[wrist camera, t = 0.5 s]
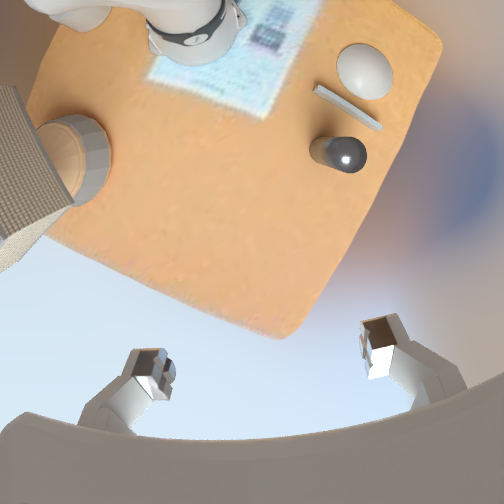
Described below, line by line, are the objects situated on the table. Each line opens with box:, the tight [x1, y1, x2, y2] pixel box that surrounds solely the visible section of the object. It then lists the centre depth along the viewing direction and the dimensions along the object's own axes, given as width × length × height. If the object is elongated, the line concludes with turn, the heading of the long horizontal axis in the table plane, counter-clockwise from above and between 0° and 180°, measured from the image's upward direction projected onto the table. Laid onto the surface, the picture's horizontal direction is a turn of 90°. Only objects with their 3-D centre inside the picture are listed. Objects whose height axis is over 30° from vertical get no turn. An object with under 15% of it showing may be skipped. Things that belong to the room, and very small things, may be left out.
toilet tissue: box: [49, 6, 112, 33], centre depth 33 cm, size 11×12×10 cm
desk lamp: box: [0, 86, 111, 273], centre depth 33 cm, size 22×19×37 cm
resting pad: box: [337, 44, 393, 100], centre depth 45 cm, size 12×12×1 cm
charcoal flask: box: [309, 137, 367, 173], centre depth 44 cm, size 5×5×15 cm
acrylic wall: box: [313, 85, 383, 131], centre depth 47 cm, size 14×1×4 cm, turn 63°
